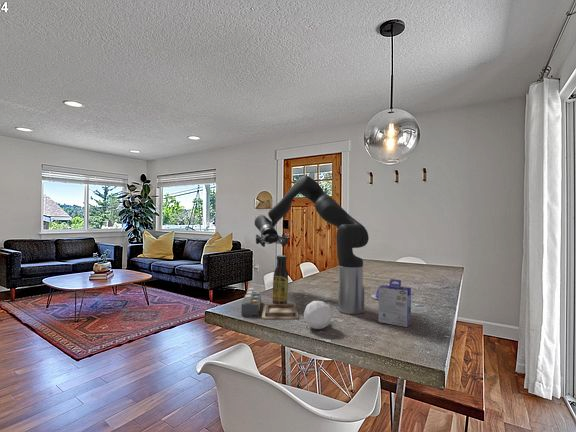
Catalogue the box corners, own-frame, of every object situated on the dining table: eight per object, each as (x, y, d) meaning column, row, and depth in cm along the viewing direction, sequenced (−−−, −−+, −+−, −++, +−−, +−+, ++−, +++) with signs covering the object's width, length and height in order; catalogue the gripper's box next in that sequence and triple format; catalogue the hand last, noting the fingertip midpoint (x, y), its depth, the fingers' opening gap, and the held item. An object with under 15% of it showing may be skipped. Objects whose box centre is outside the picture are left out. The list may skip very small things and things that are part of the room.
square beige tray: (296, 307, 124) (296, 303, 124) (298, 319, 110) (298, 313, 110) (263, 307, 124) (263, 303, 124) (261, 319, 110) (261, 313, 110)
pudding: (382, 294, 150) (382, 283, 150) (404, 299, 140) (404, 287, 140) (365, 297, 143) (365, 286, 143) (387, 303, 133) (387, 291, 133)
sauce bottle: (269, 304, 129) (270, 256, 129) (276, 301, 134) (276, 254, 135) (284, 306, 126) (284, 256, 126) (290, 302, 132) (290, 255, 132)
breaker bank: (261, 302, 132) (261, 287, 132) (258, 315, 114) (259, 297, 114) (246, 302, 132) (246, 287, 132) (241, 315, 114) (241, 297, 114)
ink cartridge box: (411, 323, 107) (411, 280, 107) (408, 328, 102) (408, 283, 102) (382, 318, 112) (382, 277, 112) (377, 322, 107) (378, 280, 108)
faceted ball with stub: (333, 329, 95) (336, 321, 107) (324, 298, 97) (329, 294, 109) (306, 335, 97) (312, 327, 108) (298, 305, 99) (305, 301, 110)
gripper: (254, 225, 149) (257, 236, 133) (283, 226, 152) (290, 236, 136) (253, 240, 150) (257, 253, 135) (282, 241, 153) (289, 252, 138)
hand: (274, 244), depth 136 cm, fingers open, 8 cm apart
